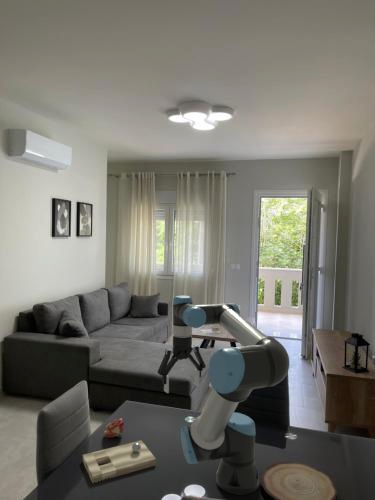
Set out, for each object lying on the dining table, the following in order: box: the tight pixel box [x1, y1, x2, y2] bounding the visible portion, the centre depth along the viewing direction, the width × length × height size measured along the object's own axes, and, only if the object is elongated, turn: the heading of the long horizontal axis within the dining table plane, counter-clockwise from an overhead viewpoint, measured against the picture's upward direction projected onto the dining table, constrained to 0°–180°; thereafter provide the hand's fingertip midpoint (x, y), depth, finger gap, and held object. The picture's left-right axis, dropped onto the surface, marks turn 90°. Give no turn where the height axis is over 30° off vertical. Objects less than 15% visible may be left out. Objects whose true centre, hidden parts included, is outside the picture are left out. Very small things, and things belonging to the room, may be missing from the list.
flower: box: [103, 417, 125, 439], centre depth 169 cm, size 10×9×8 cm
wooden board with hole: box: [82, 439, 157, 484], centre depth 150 cm, size 15×24×2 cm, turn 118°
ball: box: [132, 443, 141, 453], centre depth 153 cm, size 4×4×4 cm
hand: (181, 389), depth 155 cm, fingers open, 13 cm apart
